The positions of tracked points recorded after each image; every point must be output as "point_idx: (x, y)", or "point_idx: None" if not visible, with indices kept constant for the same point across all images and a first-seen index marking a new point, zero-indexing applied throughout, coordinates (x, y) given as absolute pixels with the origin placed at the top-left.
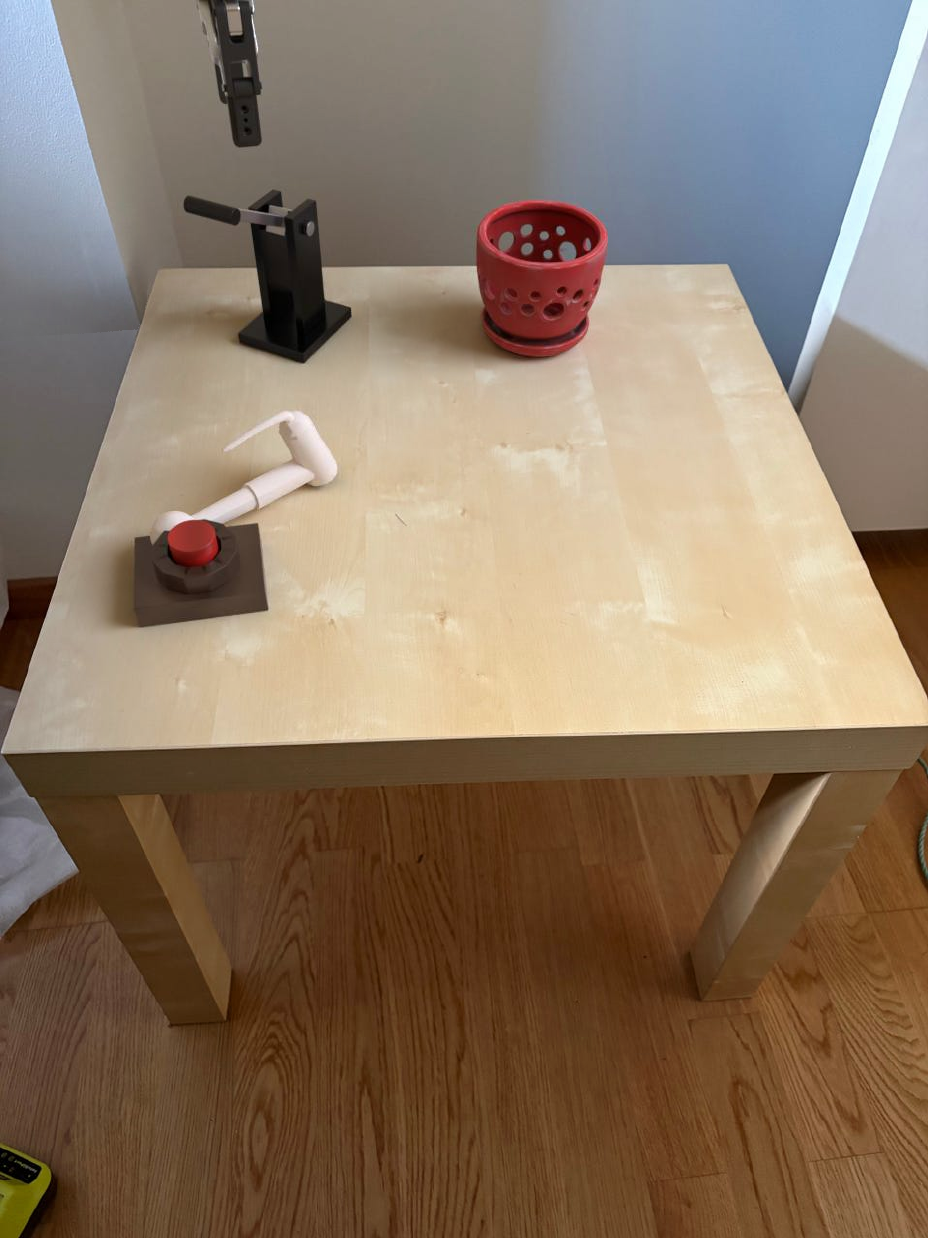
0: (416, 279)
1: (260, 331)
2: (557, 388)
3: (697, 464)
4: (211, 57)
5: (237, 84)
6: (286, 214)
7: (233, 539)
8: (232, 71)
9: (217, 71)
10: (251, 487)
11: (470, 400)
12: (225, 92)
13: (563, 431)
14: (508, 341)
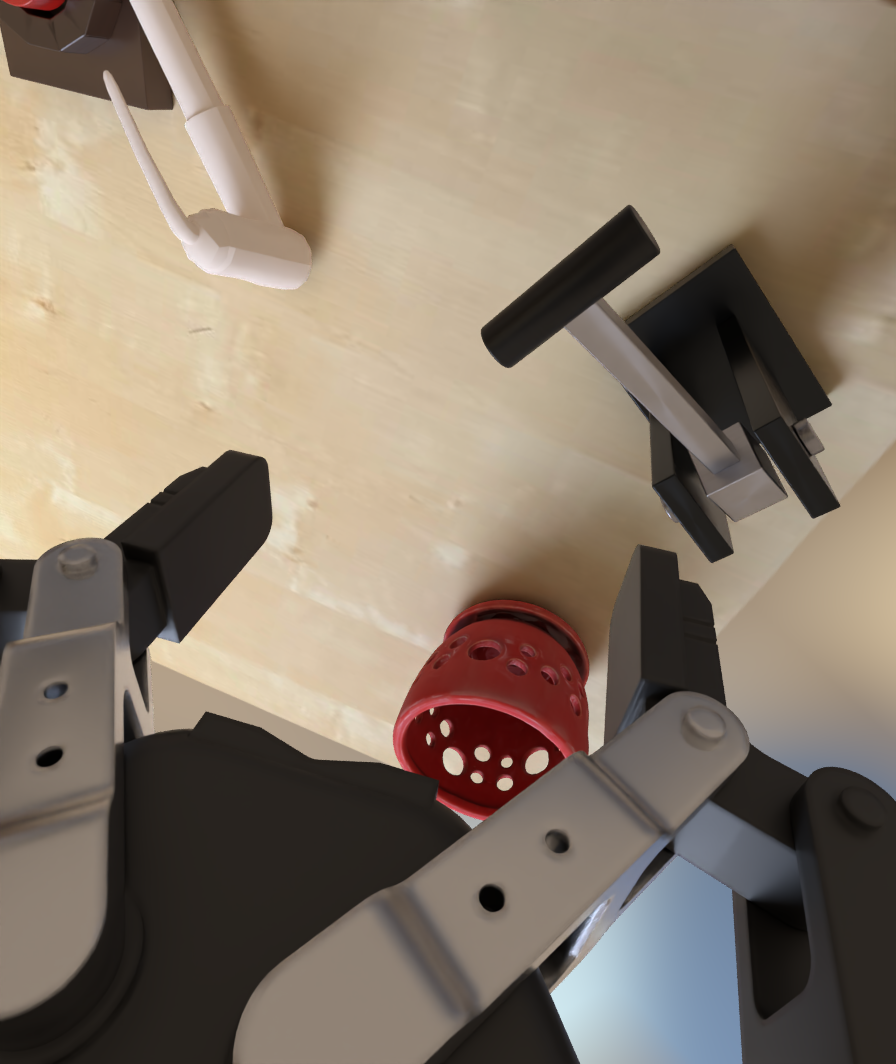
0: (736, 599)
1: (711, 297)
2: (398, 605)
3: (247, 634)
4: (97, 633)
5: None
6: (706, 485)
7: (50, 44)
8: (618, 673)
9: (639, 628)
10: (190, 120)
11: (408, 515)
12: (65, 547)
13: (321, 568)
14: (474, 611)
